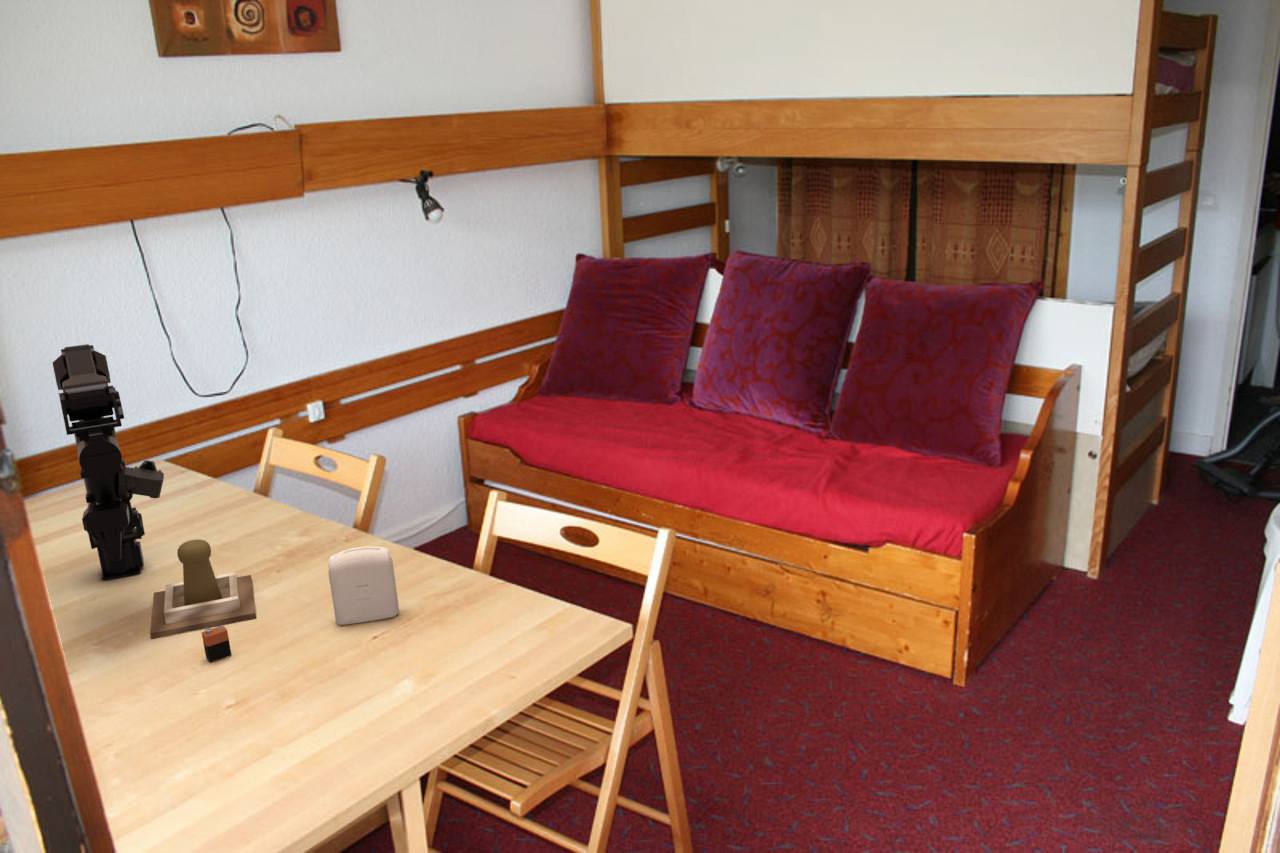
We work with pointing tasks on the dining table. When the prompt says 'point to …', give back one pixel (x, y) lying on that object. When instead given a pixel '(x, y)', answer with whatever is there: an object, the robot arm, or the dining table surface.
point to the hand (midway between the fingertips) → (118, 549)
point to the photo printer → (363, 585)
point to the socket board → (202, 607)
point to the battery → (216, 643)
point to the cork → (198, 573)
